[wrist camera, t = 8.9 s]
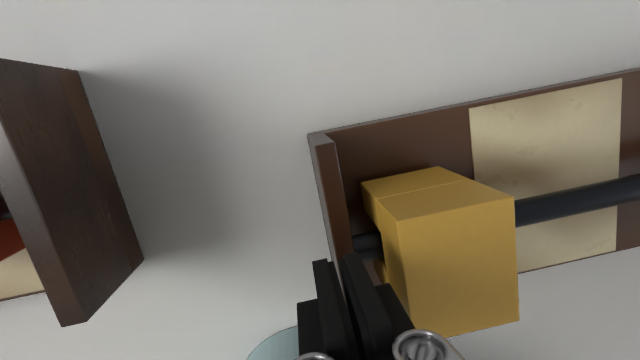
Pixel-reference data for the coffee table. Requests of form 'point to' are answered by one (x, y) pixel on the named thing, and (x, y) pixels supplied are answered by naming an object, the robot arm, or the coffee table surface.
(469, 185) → the block
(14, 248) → the block
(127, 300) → the coffee table surface
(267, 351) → the mug
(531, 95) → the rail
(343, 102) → the coffee table surface
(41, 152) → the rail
